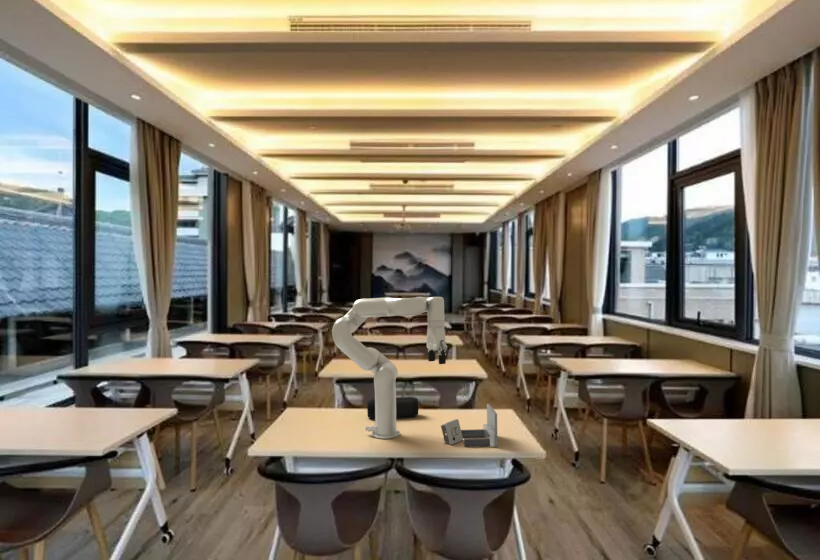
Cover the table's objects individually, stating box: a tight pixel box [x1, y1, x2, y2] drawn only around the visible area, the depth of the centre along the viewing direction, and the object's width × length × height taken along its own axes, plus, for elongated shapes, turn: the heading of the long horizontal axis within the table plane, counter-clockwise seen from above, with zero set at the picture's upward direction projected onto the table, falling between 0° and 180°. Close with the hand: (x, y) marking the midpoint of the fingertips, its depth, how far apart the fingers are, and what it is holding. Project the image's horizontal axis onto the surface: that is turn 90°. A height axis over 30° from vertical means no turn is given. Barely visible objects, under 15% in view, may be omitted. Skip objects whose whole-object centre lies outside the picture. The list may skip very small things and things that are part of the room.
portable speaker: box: [366, 396, 419, 419], centre depth 288 cm, size 26×10×10 cm, turn 96°
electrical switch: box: [440, 418, 464, 446], centre depth 244 cm, size 9×5×9 cm, turn 141°
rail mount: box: [461, 403, 498, 448], centre depth 244 cm, size 14×19×14 cm
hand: (436, 362), depth 253 cm, fingers open, 9 cm apart
